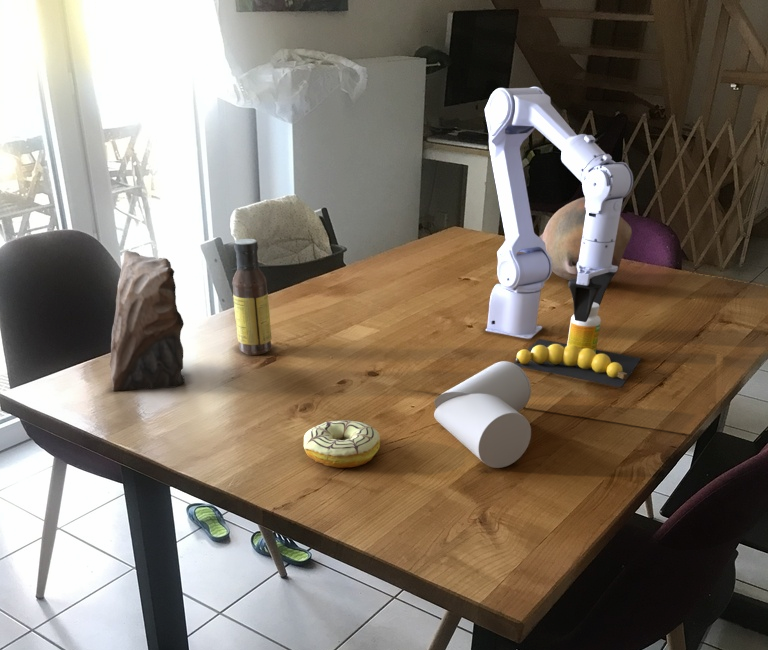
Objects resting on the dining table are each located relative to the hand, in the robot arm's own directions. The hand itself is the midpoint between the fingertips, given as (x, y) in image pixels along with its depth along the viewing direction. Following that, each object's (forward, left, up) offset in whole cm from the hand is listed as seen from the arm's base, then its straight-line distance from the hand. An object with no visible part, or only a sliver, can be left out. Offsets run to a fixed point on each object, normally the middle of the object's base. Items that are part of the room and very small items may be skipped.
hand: (586, 314), depth 147 cm
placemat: (+1, -4, -8) cm, 9 cm away
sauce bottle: (-54, -29, -8) cm, 62 cm away
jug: (-19, +50, -8) cm, 55 cm away
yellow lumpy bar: (0, -8, -8) cm, 11 cm away
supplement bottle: (0, 0, -8) cm, 8 cm away
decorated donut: (-19, -57, -8) cm, 60 cm away
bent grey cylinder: (-3, -40, -8) cm, 40 cm away
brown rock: (-62, -50, -8) cm, 80 cm away
